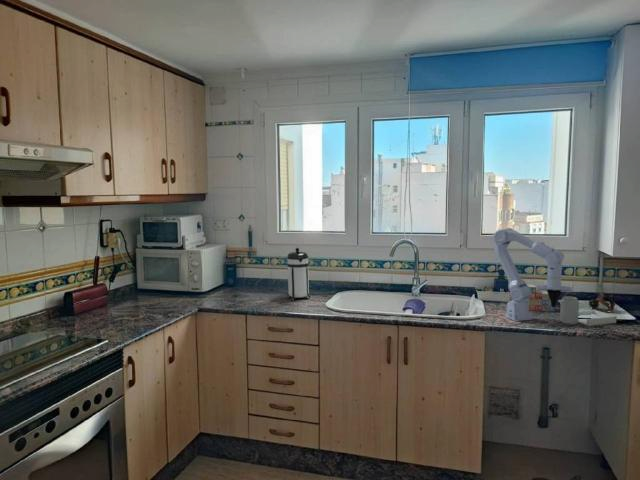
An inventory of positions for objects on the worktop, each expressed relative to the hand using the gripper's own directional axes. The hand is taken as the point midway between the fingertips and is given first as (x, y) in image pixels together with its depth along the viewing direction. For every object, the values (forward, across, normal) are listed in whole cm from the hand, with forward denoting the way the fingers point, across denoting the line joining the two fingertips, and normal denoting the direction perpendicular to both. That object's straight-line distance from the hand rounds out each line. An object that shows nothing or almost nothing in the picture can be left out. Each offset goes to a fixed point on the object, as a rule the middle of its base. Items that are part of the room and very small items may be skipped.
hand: (553, 306), depth 214 cm
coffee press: (+9, +134, -26) cm, 137 cm away
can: (+9, -7, -4) cm, 12 cm away
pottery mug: (+9, -26, -31) cm, 41 cm away
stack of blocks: (+9, +6, -27) cm, 29 cm away
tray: (+8, -18, -10) cm, 22 cm away
